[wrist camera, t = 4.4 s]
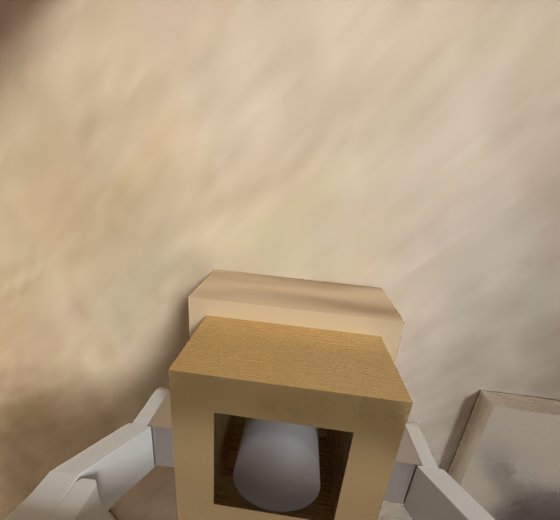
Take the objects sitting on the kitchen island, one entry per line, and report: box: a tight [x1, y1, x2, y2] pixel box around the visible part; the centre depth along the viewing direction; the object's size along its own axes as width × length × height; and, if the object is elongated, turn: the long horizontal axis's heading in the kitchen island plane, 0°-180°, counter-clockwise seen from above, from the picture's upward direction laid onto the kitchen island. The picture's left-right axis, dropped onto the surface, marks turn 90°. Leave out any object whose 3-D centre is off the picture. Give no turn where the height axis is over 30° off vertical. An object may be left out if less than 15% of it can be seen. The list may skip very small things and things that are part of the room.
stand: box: [188, 270, 404, 512], centre depth 11 cm, size 8×8×6 cm
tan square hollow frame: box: [168, 315, 413, 520], centre depth 10 cm, size 7×7×3 cm
